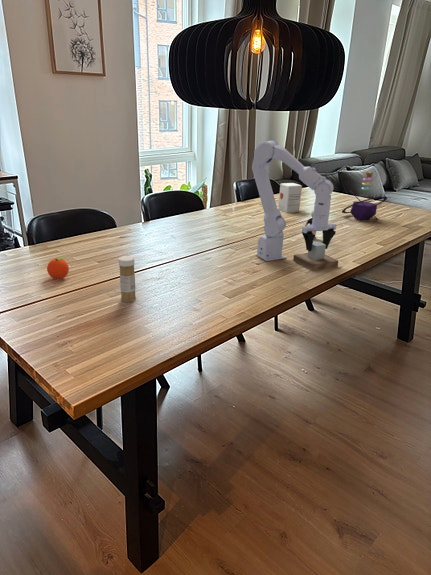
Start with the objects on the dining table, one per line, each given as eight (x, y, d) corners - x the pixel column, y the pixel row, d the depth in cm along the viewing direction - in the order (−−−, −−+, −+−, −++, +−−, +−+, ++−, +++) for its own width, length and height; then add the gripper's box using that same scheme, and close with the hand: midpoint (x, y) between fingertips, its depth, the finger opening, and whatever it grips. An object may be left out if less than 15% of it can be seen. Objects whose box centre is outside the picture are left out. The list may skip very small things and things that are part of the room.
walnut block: (312, 272, 164) (313, 264, 163) (292, 262, 174) (293, 254, 173) (337, 268, 169) (338, 260, 168) (317, 258, 179) (318, 251, 178)
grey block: (315, 260, 168) (316, 246, 165) (307, 256, 171) (308, 242, 169) (324, 258, 170) (325, 244, 167) (316, 254, 173) (318, 241, 171)
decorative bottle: (388, 225, 229) (397, 176, 220) (347, 224, 229) (354, 174, 220) (374, 215, 250) (382, 169, 240) (337, 214, 250) (343, 168, 240)
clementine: (64, 272, 155) (62, 253, 152) (76, 277, 151) (74, 257, 149) (44, 278, 149) (41, 258, 147) (55, 283, 146) (53, 263, 143)
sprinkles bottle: (130, 295, 139) (128, 254, 133) (139, 299, 136) (137, 258, 131) (117, 299, 136) (115, 257, 130) (126, 304, 133) (124, 261, 128)
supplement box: (277, 209, 256) (279, 183, 250) (290, 208, 260) (293, 182, 254) (286, 213, 249) (288, 186, 243) (299, 211, 252) (302, 185, 246)
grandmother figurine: (306, 239, 201) (309, 211, 196) (302, 237, 205) (305, 209, 200) (321, 238, 203) (325, 211, 198) (317, 236, 207) (320, 209, 202)
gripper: (312, 218, 157) (307, 254, 163) (343, 215, 164) (338, 250, 169) (300, 213, 163) (296, 249, 169) (331, 210, 169) (326, 245, 175)
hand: (316, 249), depth 169 cm, fingers open, 7 cm apart
